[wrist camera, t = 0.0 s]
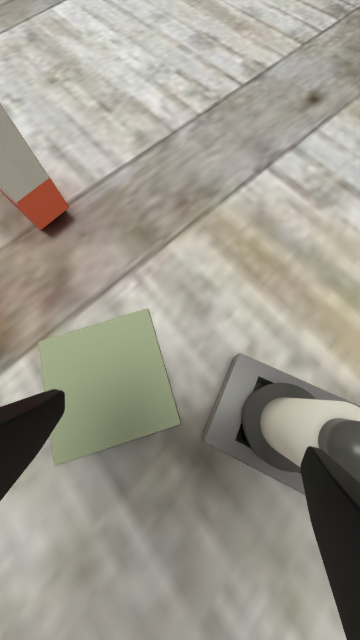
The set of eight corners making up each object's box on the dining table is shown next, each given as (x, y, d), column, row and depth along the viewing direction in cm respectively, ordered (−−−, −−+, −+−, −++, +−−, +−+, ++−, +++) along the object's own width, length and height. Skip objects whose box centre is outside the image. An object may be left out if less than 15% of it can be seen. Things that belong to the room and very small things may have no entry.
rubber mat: (180, 423, 22) (180, 424, 22) (57, 464, 22) (54, 465, 21) (148, 310, 26) (147, 308, 25) (41, 342, 25) (38, 341, 25)
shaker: (313, 443, 21) (485, 514, 9) (249, 464, 21) (334, 570, 9) (284, 376, 23) (393, 358, 11) (225, 395, 23) (266, 400, 10)
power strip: (460, 459, 20) (506, 470, 17) (447, 562, 18) (495, 595, 15) (233, 357, 24) (240, 352, 21) (202, 435, 22) (204, 442, 19)
